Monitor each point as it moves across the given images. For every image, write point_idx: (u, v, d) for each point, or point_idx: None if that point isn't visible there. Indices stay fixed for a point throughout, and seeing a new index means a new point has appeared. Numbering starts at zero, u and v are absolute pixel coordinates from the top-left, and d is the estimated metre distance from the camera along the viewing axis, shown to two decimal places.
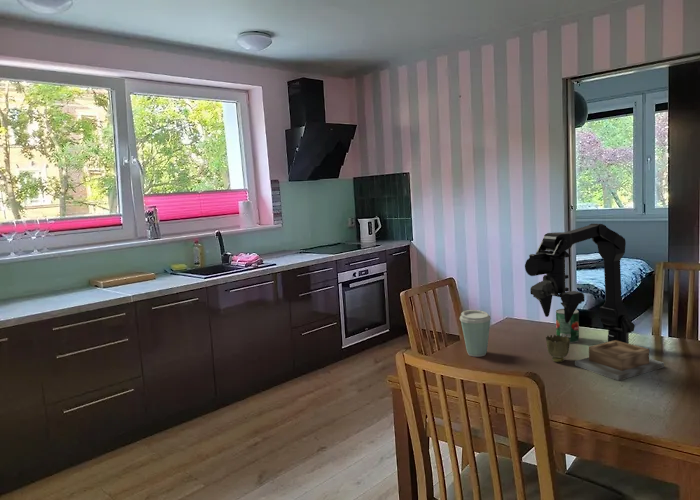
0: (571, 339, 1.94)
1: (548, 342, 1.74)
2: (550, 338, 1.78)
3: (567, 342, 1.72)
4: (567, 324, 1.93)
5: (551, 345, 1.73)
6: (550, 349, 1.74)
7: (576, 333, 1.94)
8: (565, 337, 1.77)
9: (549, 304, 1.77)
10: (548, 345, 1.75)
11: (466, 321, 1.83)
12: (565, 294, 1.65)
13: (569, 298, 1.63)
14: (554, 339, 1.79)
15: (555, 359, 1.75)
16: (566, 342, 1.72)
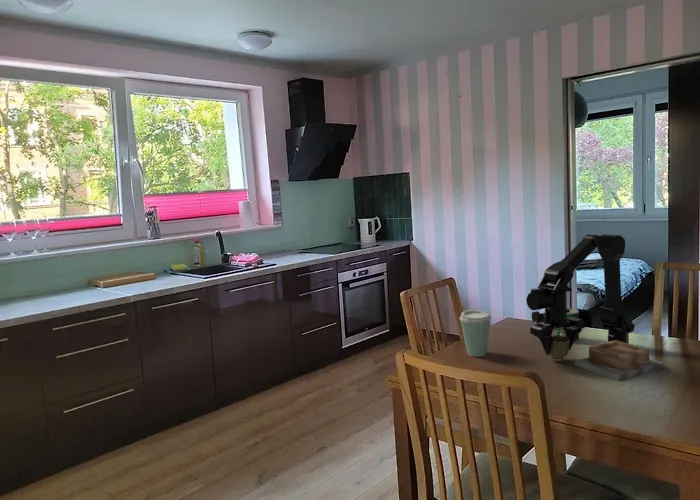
0: None
1: None
2: None
3: (567, 342, 1.72)
4: None
5: (551, 345, 1.73)
6: None
7: None
8: (565, 337, 1.77)
9: (571, 338, 1.76)
10: None
11: (466, 321, 1.83)
12: None
13: (530, 328, 1.74)
14: (554, 339, 1.79)
15: (555, 359, 1.75)
16: (566, 342, 1.72)
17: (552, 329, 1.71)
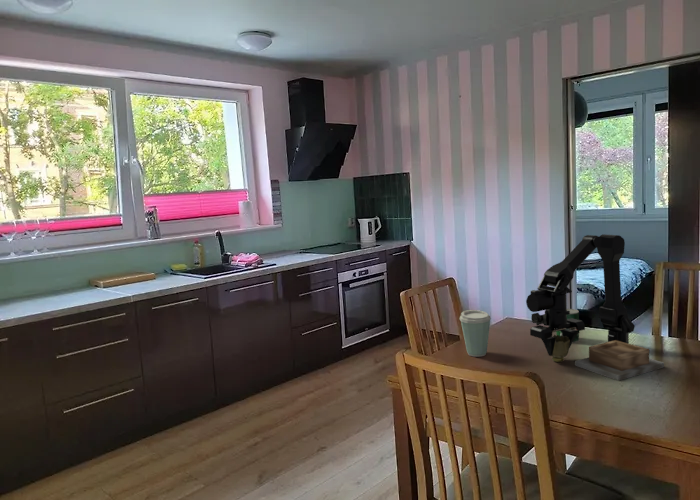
0: None
1: None
2: None
3: (567, 342, 1.72)
4: None
5: None
6: None
7: None
8: (565, 337, 1.77)
9: None
10: None
11: (466, 321, 1.83)
12: None
13: (530, 329, 1.74)
14: None
15: (555, 359, 1.75)
16: (566, 342, 1.72)
17: (555, 330, 1.72)
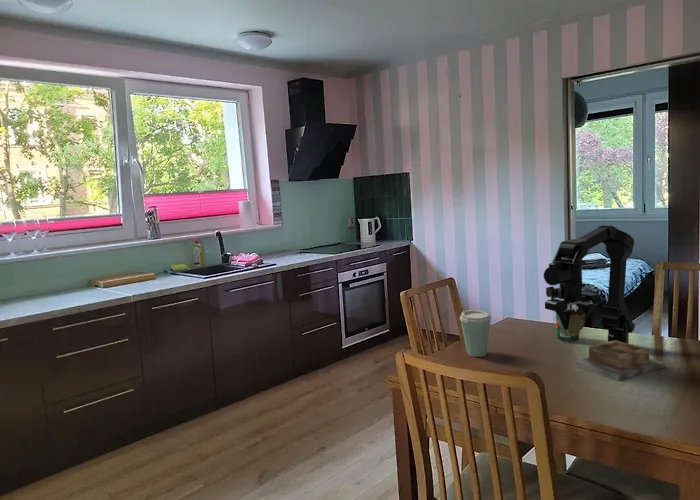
0: (571, 339, 1.94)
1: None
2: None
3: (583, 315, 1.69)
4: None
5: None
6: None
7: None
8: (581, 311, 1.73)
9: None
10: None
11: (466, 321, 1.83)
12: None
13: None
14: None
15: (570, 333, 1.72)
16: (581, 315, 1.69)
17: (570, 303, 1.69)
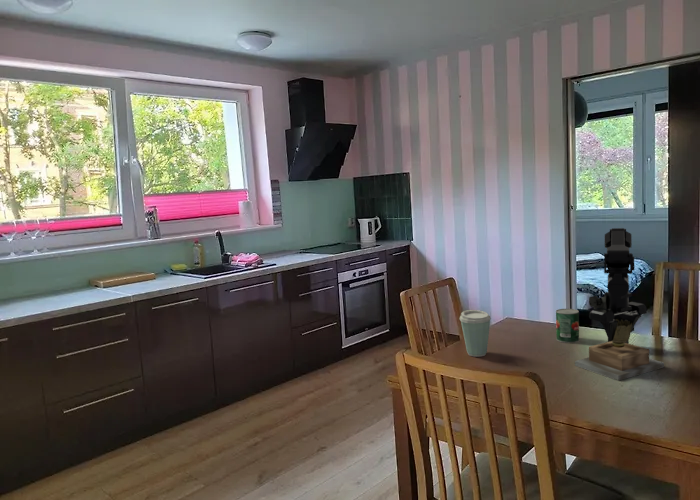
0: (571, 339, 1.94)
1: None
2: None
3: (629, 326, 1.63)
4: (567, 324, 1.93)
5: None
6: None
7: (576, 333, 1.94)
8: (625, 321, 1.68)
9: None
10: None
11: (466, 321, 1.83)
12: None
13: None
14: None
15: (616, 344, 1.66)
16: (628, 326, 1.63)
17: (616, 313, 1.63)
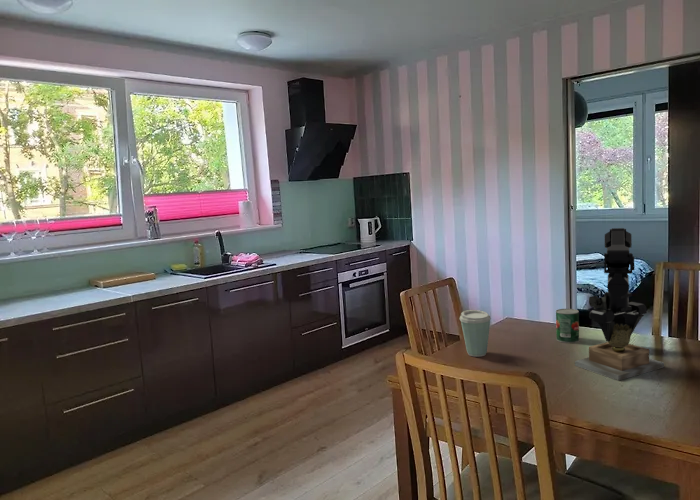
0: (571, 339, 1.94)
1: None
2: None
3: (629, 331, 1.63)
4: (567, 324, 1.93)
5: (612, 334, 1.65)
6: None
7: (576, 333, 1.94)
8: (625, 326, 1.68)
9: (632, 324, 1.67)
10: None
11: (466, 321, 1.83)
12: None
13: None
14: (613, 328, 1.70)
15: (615, 349, 1.66)
16: (628, 330, 1.63)
17: (613, 314, 1.62)
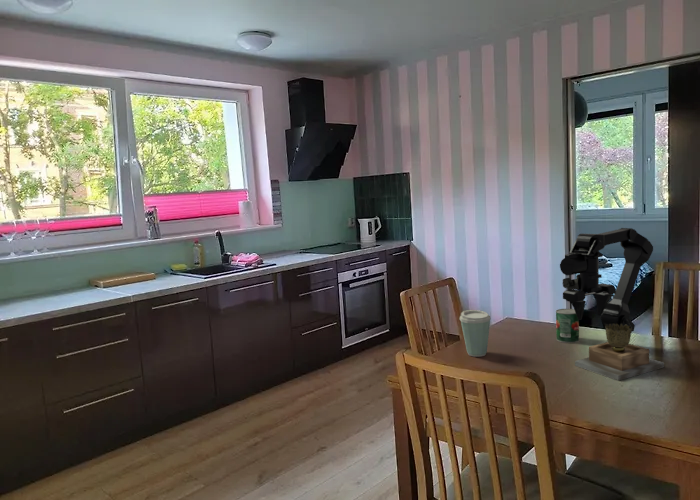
0: (571, 339, 1.94)
1: (608, 331, 1.65)
2: (609, 327, 1.70)
3: (629, 331, 1.63)
4: (567, 324, 1.93)
5: (612, 334, 1.65)
6: (610, 338, 1.65)
7: (576, 333, 1.94)
8: (625, 326, 1.68)
9: (602, 304, 1.79)
10: (608, 334, 1.66)
11: (466, 321, 1.83)
12: None
13: None
14: (613, 328, 1.70)
15: (615, 349, 1.66)
16: (628, 330, 1.63)
17: (585, 294, 1.74)
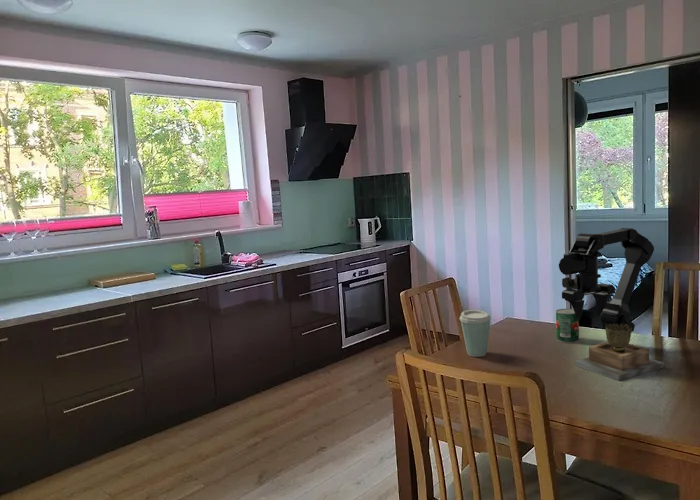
0: (571, 339, 1.94)
1: (608, 331, 1.65)
2: (609, 327, 1.70)
3: (629, 331, 1.63)
4: (567, 324, 1.93)
5: (612, 334, 1.65)
6: (610, 338, 1.65)
7: (576, 333, 1.94)
8: (625, 326, 1.68)
9: (602, 304, 1.79)
10: (608, 334, 1.66)
11: (466, 321, 1.83)
12: None
13: None
14: (613, 328, 1.70)
15: (615, 349, 1.66)
16: (628, 330, 1.63)
17: (583, 293, 1.75)
